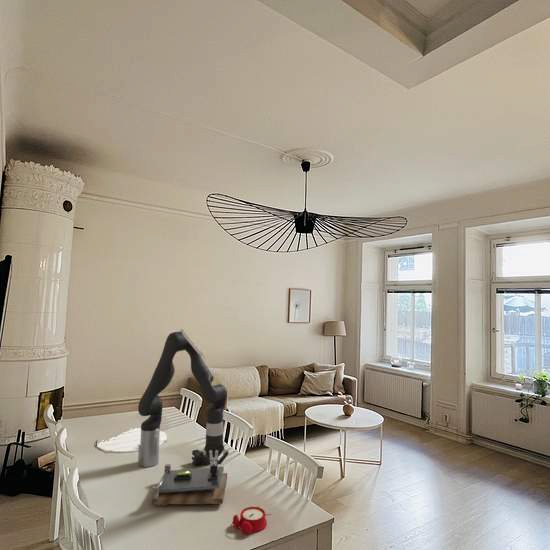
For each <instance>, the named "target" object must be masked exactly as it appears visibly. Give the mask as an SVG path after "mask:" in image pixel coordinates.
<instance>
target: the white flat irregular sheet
mask: <svg viewBox="0 0 550 550" xmlns="http://www.w3.org/2000/svg"><path fill="white" fill-rule="evenodd" d="M134 428H135V427H134ZM130 429H131V430H129V431H127V432H123V433H124V434H123V433H122V434H120V435H118V436H117V437H112V438H110V439H109V441H107V440H106V441H105V442H102V441H104V440H102V441H101V442H100V443H99V444H98V443H97V444H98V445H97V447H99V448H100V449H102V450H105V451H104V452H105V453H112V452H122V453H121V454H125V453H124V452H130V453H135V452H137V451H138V452H139V445H140V440H141V427H136V428H135V429H133V428H130ZM132 429H133V430H132ZM129 432H130V433H129ZM167 436H168V435H167V433H166V432H165V431H162V430H160V438H159V446H160V445H162V444H164V443H165V442H167V441H168V439H167ZM114 439H115V440H114ZM97 447H96V448H97ZM100 449H99V450H100ZM102 450H101V451H102Z"/></svg>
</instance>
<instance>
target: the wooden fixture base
mask: <svg viewBox="0 0 550 550" xmlns="http://www.w3.org/2000/svg"><path fill="white" fill-rule="evenodd" d="M166 470H168V471H172V464H171V463H166V464H164V473H165V471H166ZM164 473H163V474H164ZM227 481H228V472H227V473H226V472H223V475H222V480H221V485H220V488H217V489H204V490H192V491H179V492H167V493H159V486H157V485H152V487H151V495H150V496H151V497H150V498H151V505H159V506H160V507H165V506H168V505H223V503H224V498H225V492H226V487H227Z"/></svg>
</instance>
